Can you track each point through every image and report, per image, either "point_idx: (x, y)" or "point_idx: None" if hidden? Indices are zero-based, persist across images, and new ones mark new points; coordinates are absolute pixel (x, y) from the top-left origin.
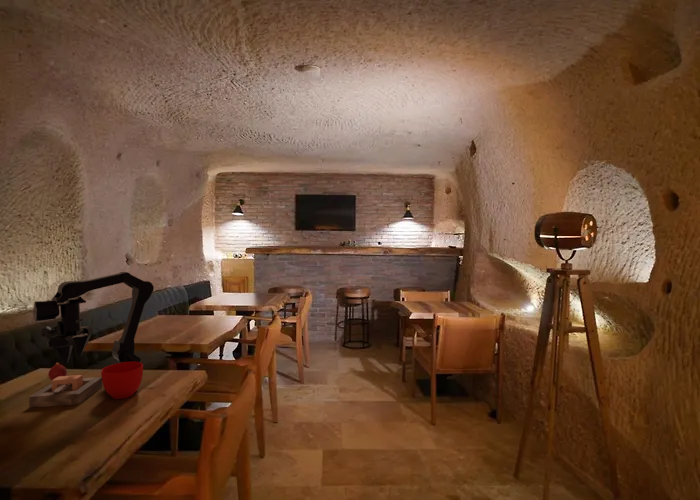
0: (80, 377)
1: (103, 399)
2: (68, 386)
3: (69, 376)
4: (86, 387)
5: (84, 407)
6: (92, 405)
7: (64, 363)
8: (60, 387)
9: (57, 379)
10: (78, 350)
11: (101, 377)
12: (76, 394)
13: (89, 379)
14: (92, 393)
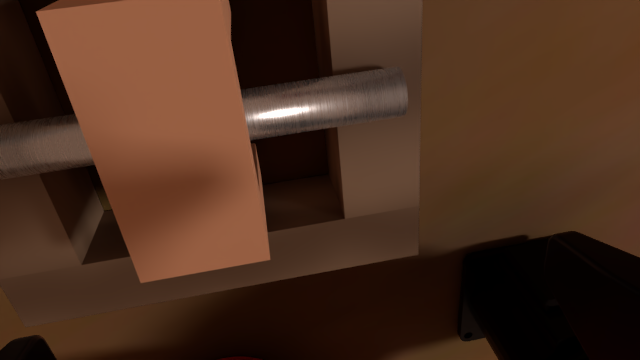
0: (224, 259)
1: (160, 343)
2: (319, 5)
3: (219, 152)
4: (170, 291)
5: (17, 323)
6: (58, 343)
7: (14, 355)
8: (7, 172)
9: (92, 71)
10: (632, 330)
11: (410, 255)
12: (18, 308)
13: (371, 193)
14: None
